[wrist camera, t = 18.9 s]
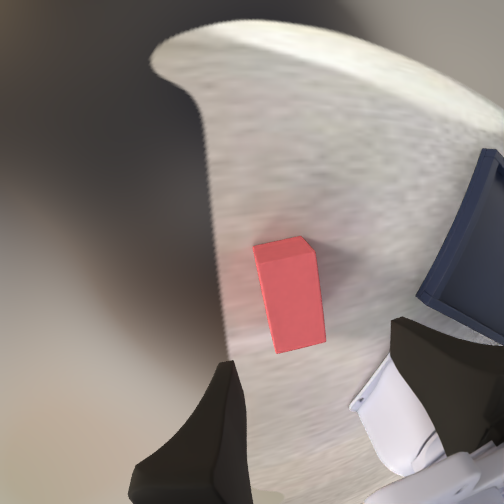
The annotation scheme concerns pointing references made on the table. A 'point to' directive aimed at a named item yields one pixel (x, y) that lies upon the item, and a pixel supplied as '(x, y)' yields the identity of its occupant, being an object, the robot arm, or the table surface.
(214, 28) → the table surface
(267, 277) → the eraser
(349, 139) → the table surface
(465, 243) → the tray
